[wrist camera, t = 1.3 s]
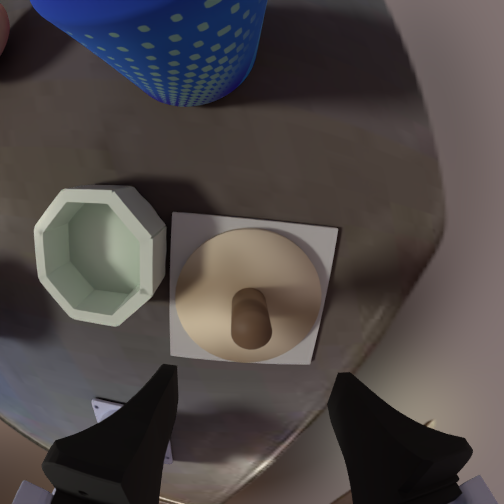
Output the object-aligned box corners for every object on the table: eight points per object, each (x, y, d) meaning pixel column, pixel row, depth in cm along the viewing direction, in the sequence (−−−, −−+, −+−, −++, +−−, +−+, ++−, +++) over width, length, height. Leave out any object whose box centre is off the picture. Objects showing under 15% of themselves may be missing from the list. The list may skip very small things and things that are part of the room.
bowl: (166, 305, 22) (154, 332, 18) (67, 291, 21) (43, 312, 17) (170, 187, 20) (154, 192, 16) (62, 184, 19) (33, 188, 15)
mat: (308, 361, 24) (309, 364, 24) (171, 352, 23) (170, 355, 23) (336, 227, 21) (338, 228, 21) (173, 211, 20) (172, 212, 20)
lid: (304, 358, 23) (317, 397, 19) (177, 350, 23) (166, 389, 18) (329, 235, 21) (354, 254, 16) (179, 221, 20) (163, 237, 15)
